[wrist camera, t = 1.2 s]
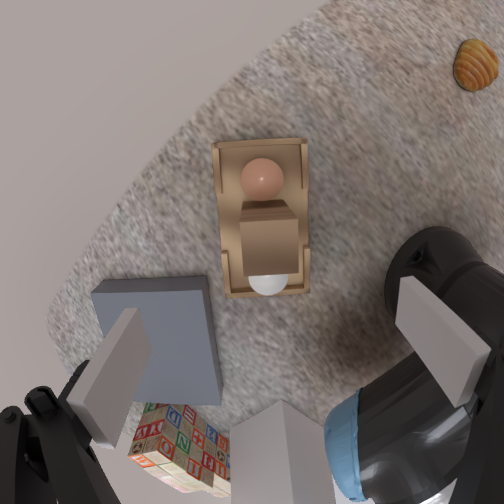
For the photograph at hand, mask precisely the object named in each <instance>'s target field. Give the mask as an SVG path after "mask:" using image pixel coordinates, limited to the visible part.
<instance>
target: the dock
mask: <svg viewBox="0 0 504 504" xmlns="http://www.w3.org/2000/svg"><path fill="white" fill-rule="evenodd" d="M90 294H91V297H92V301H93V304H94V308H95V311H96V314H97V317H98V321H99V324H100V327H101V330H102V333H103V336H104V338H105V337H106V335H107V334H108V332H109V331H110V329H111V328H112V326H113V325H114V324H115V322H116V321H117V319H118V318H119V316H120V315H121V313H122V312H123V310H124V309H125V308H137V307H138V308H139V311H140V314H141V318H142V321H143V324H144V327H145V330H146V333H147V336H148V339H149V342H150V345H151V348H152V351H153V352H152V355H151V357H150V359H149V362H148V364H147V367H146V369H145V372H144V374H143V377H142V379H141V382H140V384H139V387H138V389H137V392H136V394H135V397H134V399H133V401H138V402H149V403H163V404H182V405H221V403H222V393H223V383H222V377H221V371H220V365H219V358H218V352H217V346H216V339H215V333H214V326H213V319H212V312H211V305H210V298H209V290H208V282H207V276H189V277H168V278H145V279H120V280H103V281H102V282H101V283H100V284H99V285H98V286H97V287H96V288H95V289H94V290H93V291H92V292H91V293H90Z"/></svg>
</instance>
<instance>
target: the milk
mask: <svg viewBox="0 0 504 504" xmlns="http://www.w3.org/2000/svg"><path fill="white" fill-rule="evenodd" d="M229 433H230V481H231V504H336V500H335V493H334V486H333V480H332V473H331V470H330V467H329V463H328V460H327V456H326V451H325V443H324V442H325V440H324V428H323V427H321V426H320V425H318V424H317V423H315V422H314V421H312V420H311V419H309V418H308V417H306V416H305V415H303V414H302V413H300V412H299V411H298V410H296V409H295V408H293V407H292V406H290V405H289V404H288V403H286V402H285V401H283V400H280V401H278V402H277V403H275V404H273V405H272V406H270V407H268V408H266V409H265V410H263V411H261V412H260V413H258V414H256V415H254V416H252V417H251V418H249V419H247V420H245V421H243V422H241V423H240V424H238V425H236V426H234V427H232V428H230V429H229Z"/></svg>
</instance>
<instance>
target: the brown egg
mask: <svg viewBox="0 0 504 504" xmlns="http://www.w3.org/2000/svg"><path fill="white" fill-rule="evenodd" d="M240 181H241V186H242V189H243V191H244V192H245V193H246V194H247V195H248V196H249V197H250V198H252V199H254V200H258V201H266V200H270V199H272V198H274V197H275V196H277V195H278V194H279V192H280V191H281V189H282V187H283V183H284V176H283V172H282V170H281V168H280V167H279V166H278V164H276V163H275V162H274V161H272V160H270V159H266V158H258V159H254V160H252V161H250V162H249V163H248V164H247V165H246V166H245V167H244V168H243V170H242V173H241V177H240Z"/></svg>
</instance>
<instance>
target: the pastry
mask: <svg viewBox="0 0 504 504" xmlns="http://www.w3.org/2000/svg"><path fill="white" fill-rule="evenodd" d="M498 66H499V60H498V57H497V55H496V54H495V52H494V51H493V50H492V49H491V48H490V47H489V46H488V45H487V44H486V43H484V42H483V41H480V40H478V39H471V40H467V41H465V42H464V43H463V44H462V46H461V47H460V49H459V51H458V54H457V57H456V60H455V63H454V67H453V68H454V77H455V79H456V80H457V81H458V83H459V84H460V86H461V87H463V88H464V89H466V90H469V91H471V92H475V91H477V90H482V89H483V88H484V87H487V86H489V85H490V84H491V83H492V82H493V80H494V79H496V78H497V76H498Z"/></svg>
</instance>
